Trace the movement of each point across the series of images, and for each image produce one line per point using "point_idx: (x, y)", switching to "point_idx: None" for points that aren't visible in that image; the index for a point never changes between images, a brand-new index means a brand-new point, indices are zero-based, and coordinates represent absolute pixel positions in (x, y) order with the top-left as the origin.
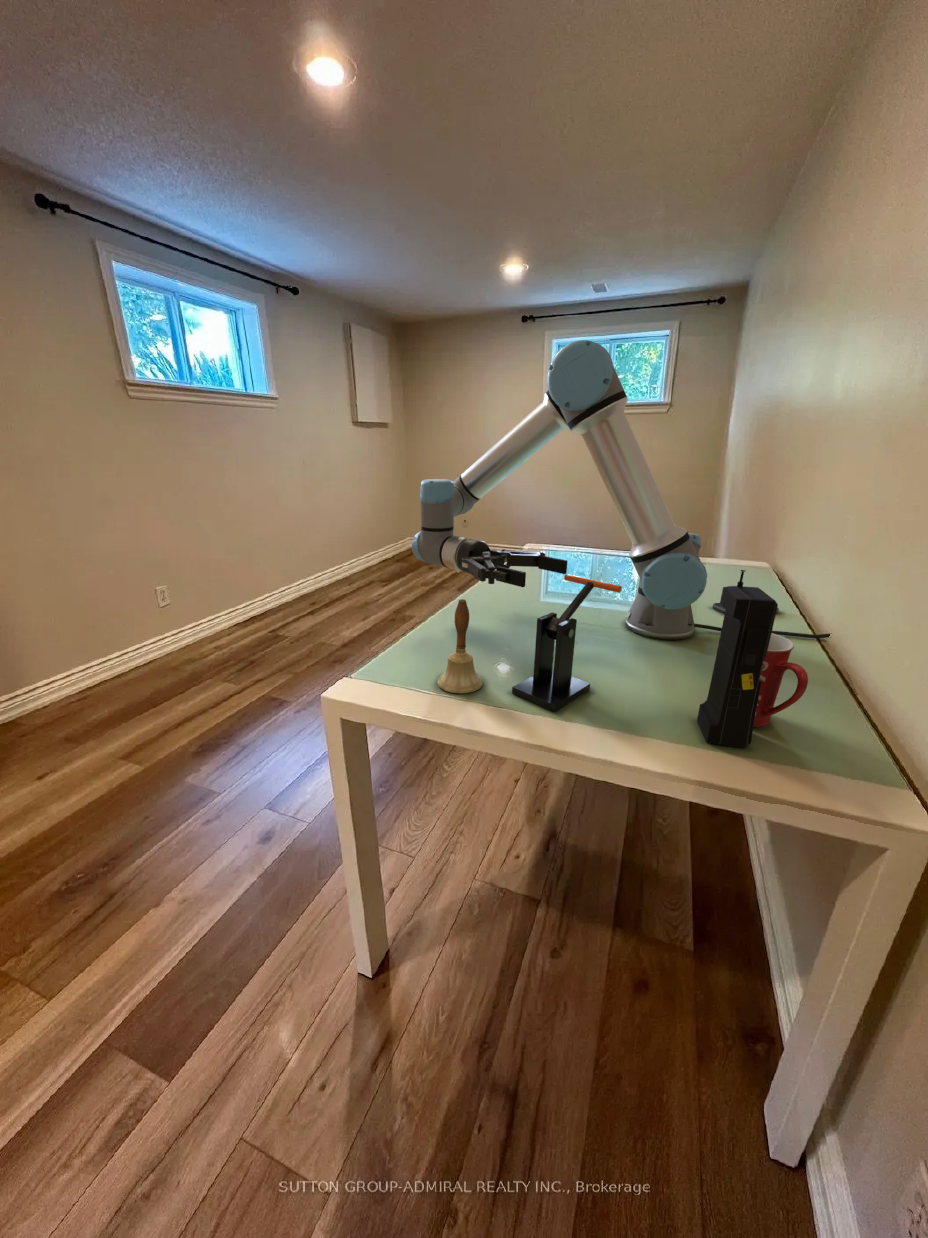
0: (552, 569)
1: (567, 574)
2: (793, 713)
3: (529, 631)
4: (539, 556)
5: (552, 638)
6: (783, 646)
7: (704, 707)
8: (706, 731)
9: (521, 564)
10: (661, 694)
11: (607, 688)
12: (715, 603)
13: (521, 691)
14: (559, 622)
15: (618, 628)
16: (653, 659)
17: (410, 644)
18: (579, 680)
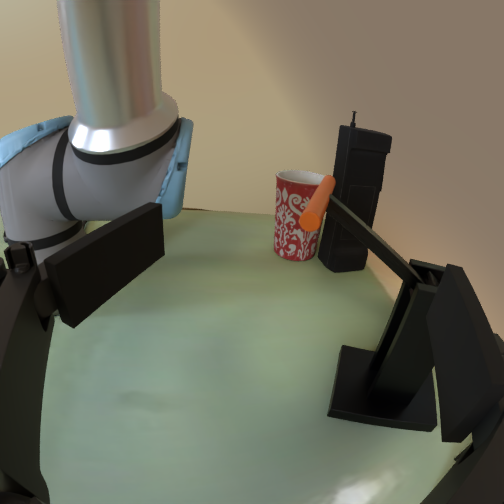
0: (126, 274)
1: (313, 210)
2: (266, 232)
3: (83, 493)
4: (57, 266)
5: None
6: (291, 177)
7: (341, 253)
8: (361, 263)
9: (35, 395)
10: (292, 292)
11: (317, 336)
12: (4, 236)
13: (435, 409)
14: (436, 279)
15: (53, 327)
16: (180, 297)
17: None
18: (343, 357)
